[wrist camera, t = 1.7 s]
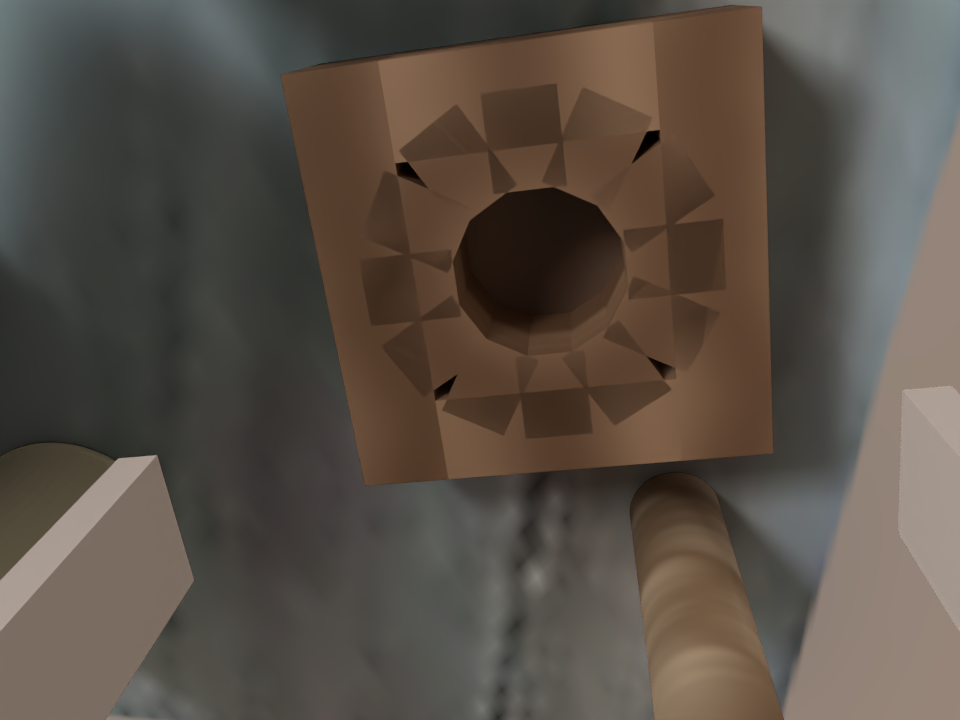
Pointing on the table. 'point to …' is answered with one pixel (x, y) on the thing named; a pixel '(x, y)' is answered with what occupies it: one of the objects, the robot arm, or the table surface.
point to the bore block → (546, 246)
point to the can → (41, 492)
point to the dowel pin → (696, 608)
